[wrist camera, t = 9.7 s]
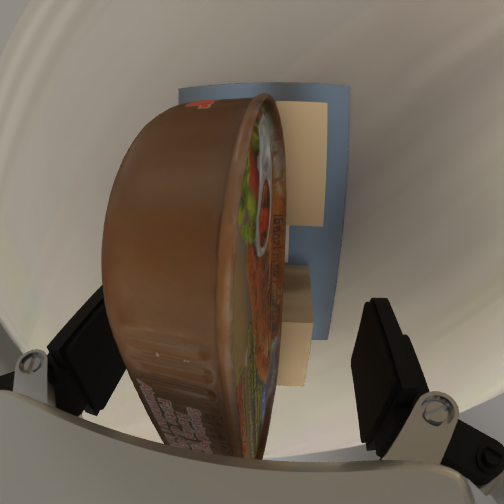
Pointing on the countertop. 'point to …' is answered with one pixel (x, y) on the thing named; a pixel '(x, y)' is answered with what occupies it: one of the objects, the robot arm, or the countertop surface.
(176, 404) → the tin
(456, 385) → the countertop surface
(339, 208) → the bridge base
